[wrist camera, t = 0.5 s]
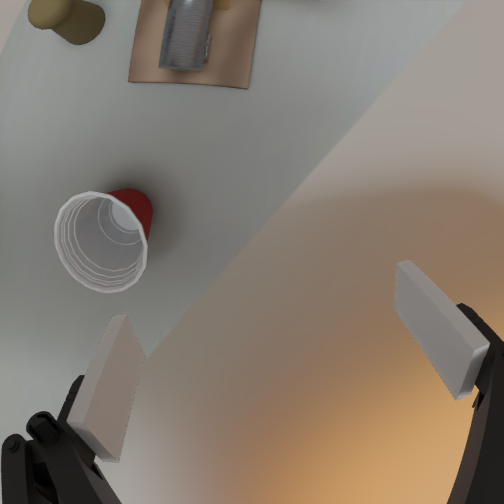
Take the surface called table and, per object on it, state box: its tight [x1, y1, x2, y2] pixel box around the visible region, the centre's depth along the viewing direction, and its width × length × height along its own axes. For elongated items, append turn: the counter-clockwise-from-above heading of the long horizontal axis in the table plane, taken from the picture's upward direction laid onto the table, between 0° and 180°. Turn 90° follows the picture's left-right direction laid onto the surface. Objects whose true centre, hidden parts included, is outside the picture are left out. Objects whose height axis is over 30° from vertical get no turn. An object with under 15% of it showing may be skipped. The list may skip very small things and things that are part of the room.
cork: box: [28, 0, 105, 45], centre depth 24 cm, size 6×6×11 cm
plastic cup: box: [54, 189, 152, 293], centre depth 34 cm, size 11×11×12 cm
